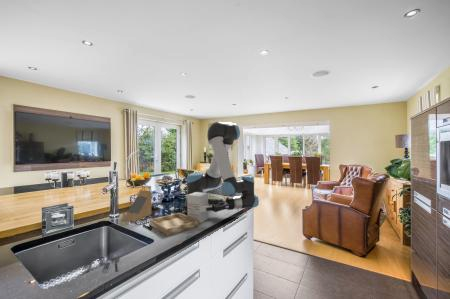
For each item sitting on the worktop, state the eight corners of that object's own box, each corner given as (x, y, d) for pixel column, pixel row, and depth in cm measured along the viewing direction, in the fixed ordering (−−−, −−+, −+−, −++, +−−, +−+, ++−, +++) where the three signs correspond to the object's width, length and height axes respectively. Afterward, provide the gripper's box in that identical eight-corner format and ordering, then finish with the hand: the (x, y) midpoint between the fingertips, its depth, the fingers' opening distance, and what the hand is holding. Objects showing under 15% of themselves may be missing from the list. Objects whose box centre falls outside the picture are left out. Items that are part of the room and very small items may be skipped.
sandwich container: (121, 220, 121) (121, 194, 121) (141, 213, 136) (140, 189, 136) (133, 222, 118) (132, 195, 118) (151, 214, 133) (151, 190, 133)
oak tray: (179, 217, 124) (179, 212, 124) (198, 226, 109) (198, 220, 109) (149, 225, 112) (149, 219, 112) (166, 236, 97) (166, 229, 97)
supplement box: (195, 216, 126) (195, 191, 126) (208, 218, 122) (208, 192, 122) (187, 221, 117) (186, 194, 117) (200, 223, 114) (200, 195, 114)
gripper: (240, 215, 113) (201, 219, 107) (227, 204, 137) (195, 207, 131) (240, 201, 113) (201, 205, 107) (227, 192, 137) (194, 195, 131)
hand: (197, 206), depth 119 cm, fingers open, 13 cm apart
